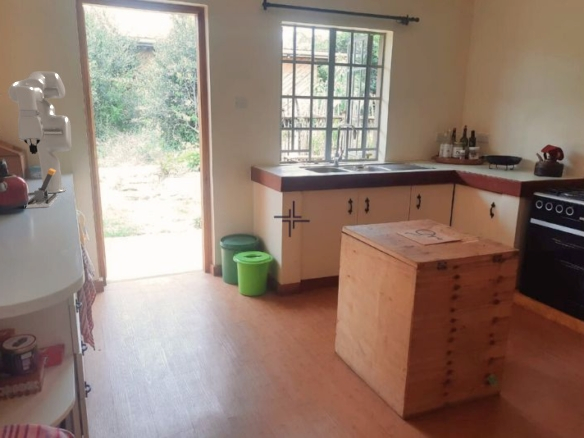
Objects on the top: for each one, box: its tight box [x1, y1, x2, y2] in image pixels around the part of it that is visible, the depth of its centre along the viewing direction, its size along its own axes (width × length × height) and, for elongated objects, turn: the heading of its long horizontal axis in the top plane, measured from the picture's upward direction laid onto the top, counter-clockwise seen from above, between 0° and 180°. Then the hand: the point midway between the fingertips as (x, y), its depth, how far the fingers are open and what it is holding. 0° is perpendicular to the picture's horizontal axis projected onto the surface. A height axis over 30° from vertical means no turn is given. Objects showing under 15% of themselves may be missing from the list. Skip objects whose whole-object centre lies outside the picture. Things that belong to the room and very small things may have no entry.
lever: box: [40, 168, 56, 193], centre depth 219 cm, size 6×2×13 cm, turn 18°
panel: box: [25, 187, 59, 209], centre depth 219 cm, size 24×10×7 cm, turn 18°
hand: (34, 153), depth 215 cm, fingers closed
